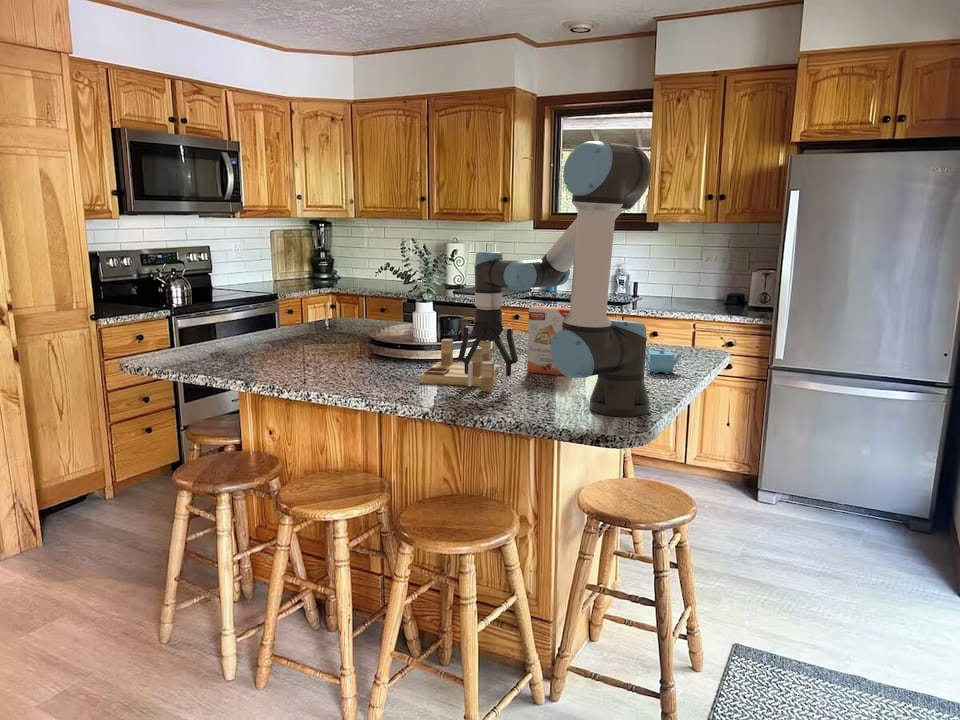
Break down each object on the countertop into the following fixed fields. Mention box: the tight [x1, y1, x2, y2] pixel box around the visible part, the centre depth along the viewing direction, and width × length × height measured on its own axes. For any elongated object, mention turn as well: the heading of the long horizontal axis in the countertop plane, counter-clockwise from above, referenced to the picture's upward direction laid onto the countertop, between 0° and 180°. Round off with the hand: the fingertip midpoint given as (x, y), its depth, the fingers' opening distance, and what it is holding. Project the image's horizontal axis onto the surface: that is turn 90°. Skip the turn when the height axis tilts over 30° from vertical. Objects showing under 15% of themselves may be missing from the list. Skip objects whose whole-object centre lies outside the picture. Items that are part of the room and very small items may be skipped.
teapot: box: [645, 348, 685, 375], centre depth 227 cm, size 12×6×8 cm, turn 80°
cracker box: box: [526, 305, 570, 377], centre depth 224 cm, size 14×6×21 cm, turn 68°
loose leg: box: [480, 361, 495, 393], centre depth 202 cm, size 3×3×8 cm
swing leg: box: [478, 340, 492, 362], centre depth 218 cm, size 11×3×8 cm, turn 167°
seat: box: [419, 338, 500, 387], centre depth 218 cm, size 20×20×10 cm
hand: (487, 386), depth 203 cm, fingers open, 9 cm apart
